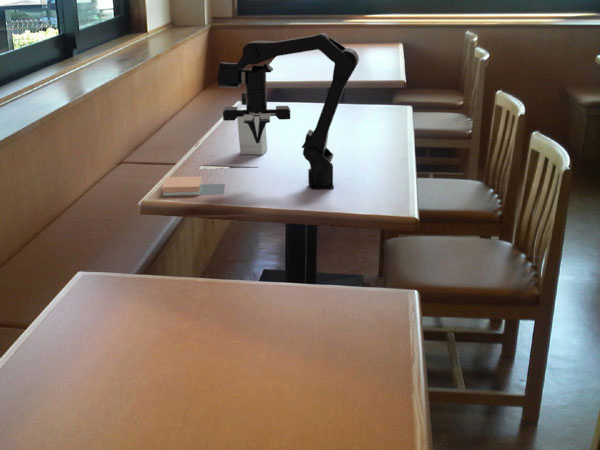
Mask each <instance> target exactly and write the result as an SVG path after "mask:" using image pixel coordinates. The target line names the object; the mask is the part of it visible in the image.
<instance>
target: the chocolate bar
mask: <svg viewBox="0 0 600 450" xmlns="http://www.w3.org/2000/svg"><path fill="white" fill-rule="evenodd" d="M256 168H259V166H242V165H241V166H239V165H218V164H217V165H215V164H214V165H213V164H202V165H201V166H200V167H199V169H198V170H209V169H210V170H216V169H218V170H219V169H220V170H221V169H256Z"/></svg>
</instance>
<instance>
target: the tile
mask: <svg viewBox="0 0 600 450" xmlns="http://www.w3.org/2000/svg"><path fill="white" fill-rule="evenodd" d="M202 184H203V177H202V176H169V177H165V179H164V182H163V185H162V188H161V189H162V196H167V197H168V196H174V195H176V196H201V195H200V191H201V187H202Z"/></svg>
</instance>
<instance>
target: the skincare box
mask: <svg viewBox="0 0 600 450" xmlns="http://www.w3.org/2000/svg"><path fill="white" fill-rule="evenodd" d="M239 110H246V107H242V108H240V109H239ZM259 117H260V116H254V118H255V125H256V131H257V138H258V128H259ZM236 119H237V130H238V132H237V133H238V141H239V154H240V155H255V156H256V155H260V156H261V155H264V154H265V153H267V151H268V140H267V129H266V127H267V125H265V127H264V129H263V132H262V135H261V138H260V142H259V143H256V141H255V138H254V136H253V133H252V131H251V129H250V127H249V125H248V124H247V123H244V118H243V117H237V118H236Z"/></svg>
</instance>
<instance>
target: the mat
mask: <svg viewBox="0 0 600 450" xmlns="http://www.w3.org/2000/svg"><path fill="white" fill-rule="evenodd" d="M225 187H226V183H213V184H212V183H211V184H210V183H206V184H203V183H202V187H201V191H200V195H199V196H206V195H207V196H208V195H209V196H211V195H213V196H214V195H224V193H225V189H226V188H225ZM173 196H177V195H173Z"/></svg>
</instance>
